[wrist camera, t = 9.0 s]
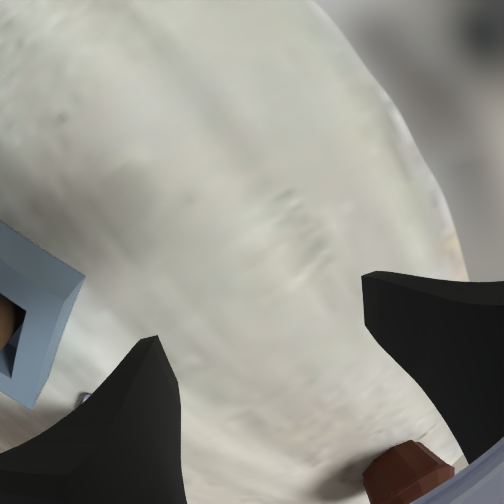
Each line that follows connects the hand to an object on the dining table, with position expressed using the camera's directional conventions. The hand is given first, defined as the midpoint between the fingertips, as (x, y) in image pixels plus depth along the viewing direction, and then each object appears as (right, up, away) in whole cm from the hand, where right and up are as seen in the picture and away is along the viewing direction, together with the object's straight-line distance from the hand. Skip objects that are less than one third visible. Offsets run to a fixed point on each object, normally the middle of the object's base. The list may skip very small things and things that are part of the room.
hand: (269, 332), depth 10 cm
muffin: (+17, -24, +20) cm, 36 cm away
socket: (-17, -1, +7) cm, 19 cm away
